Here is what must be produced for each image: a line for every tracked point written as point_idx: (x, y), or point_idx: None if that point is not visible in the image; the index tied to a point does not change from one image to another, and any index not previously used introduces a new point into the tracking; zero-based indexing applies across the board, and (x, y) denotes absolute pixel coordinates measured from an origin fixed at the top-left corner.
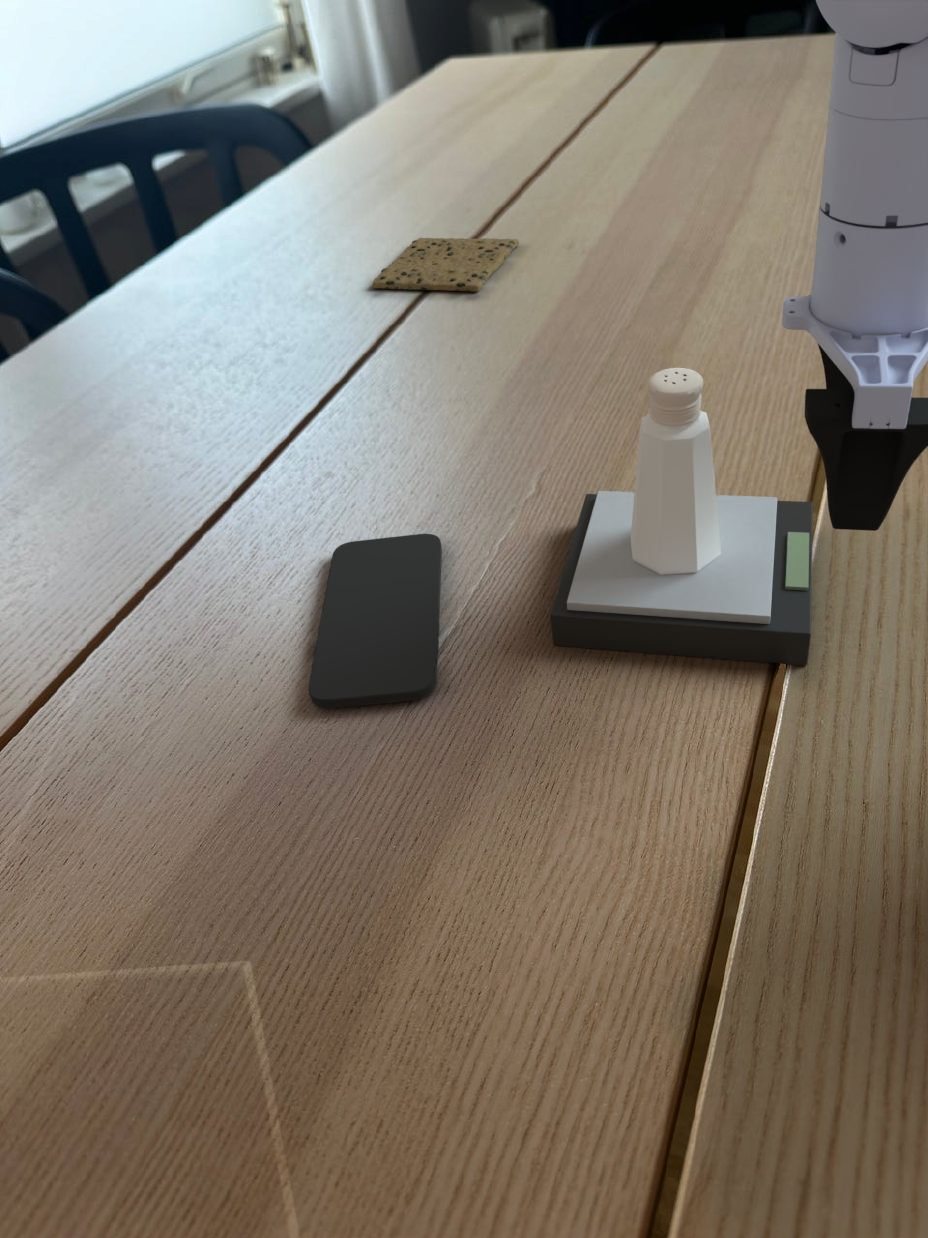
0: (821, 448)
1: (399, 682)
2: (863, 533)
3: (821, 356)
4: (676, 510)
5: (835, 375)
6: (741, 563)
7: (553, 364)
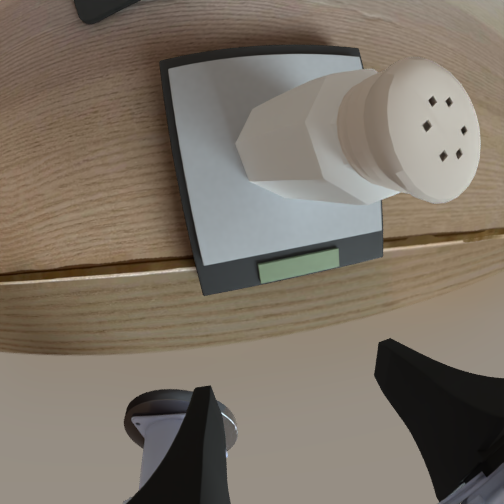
0: (133, 496)
1: (86, 4)
2: (368, 284)
3: (457, 396)
4: (262, 156)
5: (432, 394)
6: (276, 220)
7: (487, 42)
